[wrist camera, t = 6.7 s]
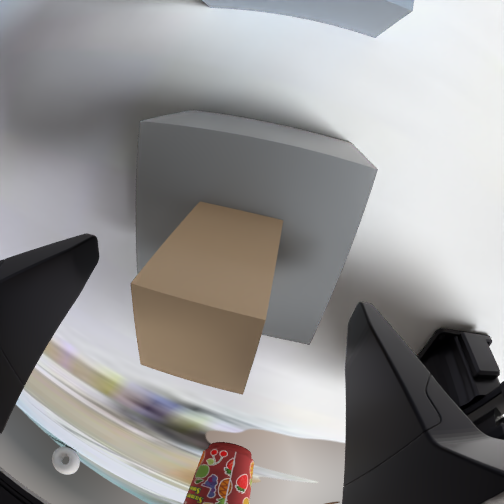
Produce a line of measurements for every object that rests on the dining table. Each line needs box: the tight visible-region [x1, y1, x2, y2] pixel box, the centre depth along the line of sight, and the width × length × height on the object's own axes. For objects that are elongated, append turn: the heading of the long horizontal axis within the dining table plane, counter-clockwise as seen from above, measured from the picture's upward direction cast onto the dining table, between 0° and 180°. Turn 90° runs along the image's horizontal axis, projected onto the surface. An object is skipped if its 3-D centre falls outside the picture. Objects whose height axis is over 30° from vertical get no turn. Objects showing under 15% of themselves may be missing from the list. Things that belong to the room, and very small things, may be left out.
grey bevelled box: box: [131, 110, 378, 394], centre depth 11 cm, size 8×8×10 cm
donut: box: [52, 447, 80, 474], centre depth 58 cm, size 10×3×10 cm, turn 90°
